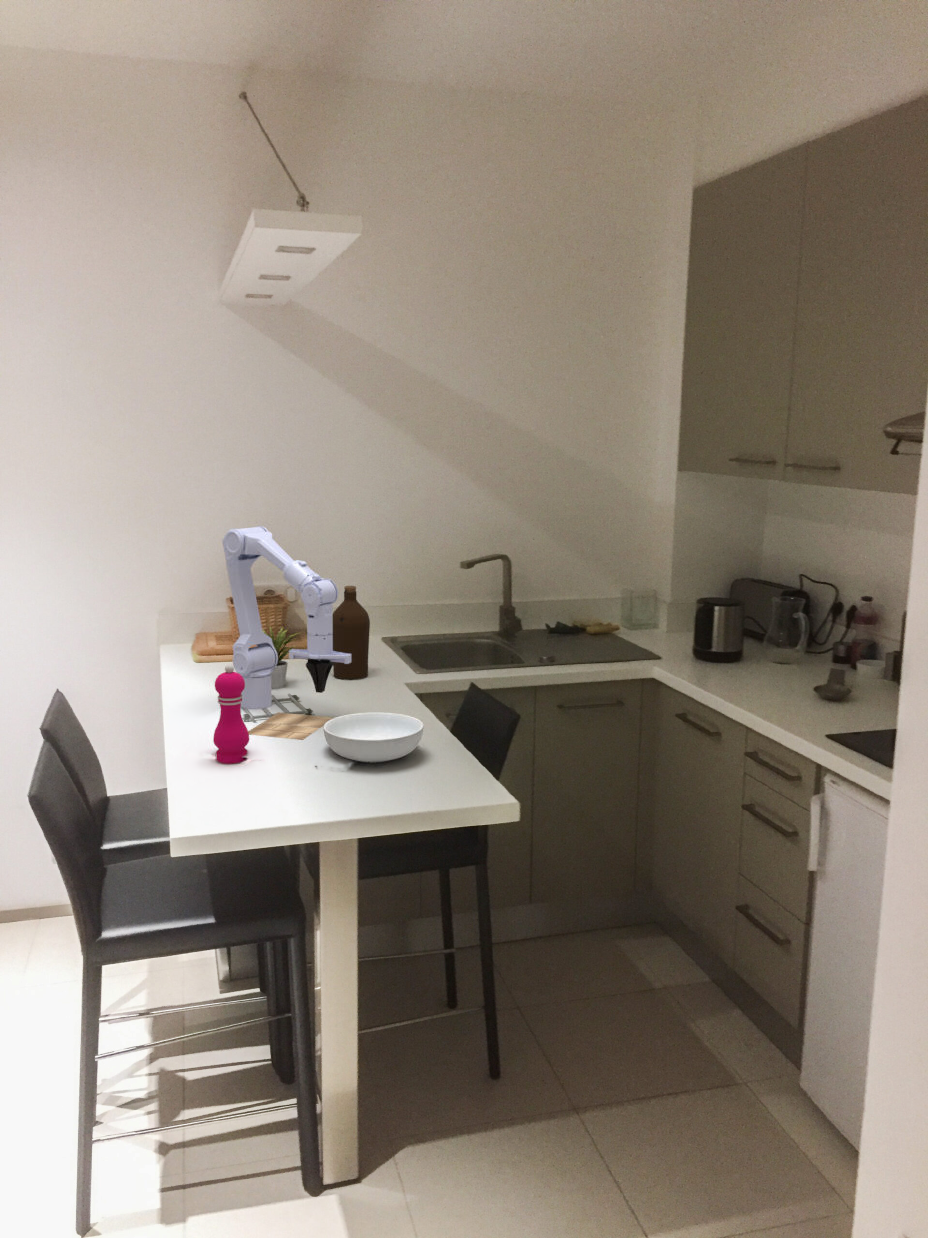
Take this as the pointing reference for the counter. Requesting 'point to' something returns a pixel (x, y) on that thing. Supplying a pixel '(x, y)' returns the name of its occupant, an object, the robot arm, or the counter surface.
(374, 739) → the serving bowl
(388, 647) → the counter surface
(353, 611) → the olive oil
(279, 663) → the house plant
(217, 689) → the pepper mill
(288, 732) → the laid floor boards
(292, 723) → the click plank
